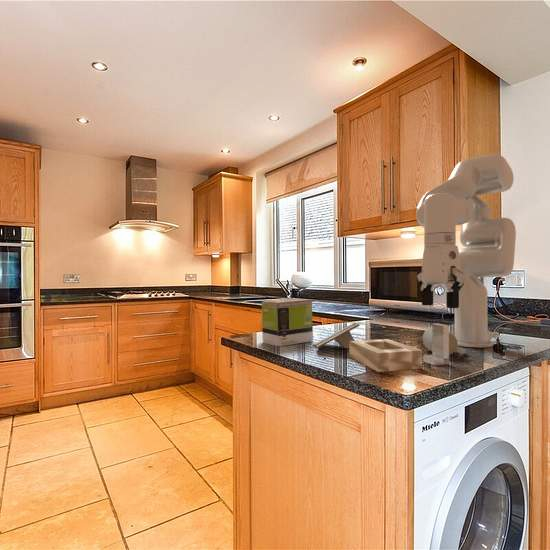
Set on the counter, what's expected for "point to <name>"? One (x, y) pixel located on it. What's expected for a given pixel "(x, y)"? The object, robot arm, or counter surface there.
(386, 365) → the well block
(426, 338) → the ceramic mug
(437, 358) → the wood grain block
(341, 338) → the beige double panel block
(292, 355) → the counter surface
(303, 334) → the tea box
